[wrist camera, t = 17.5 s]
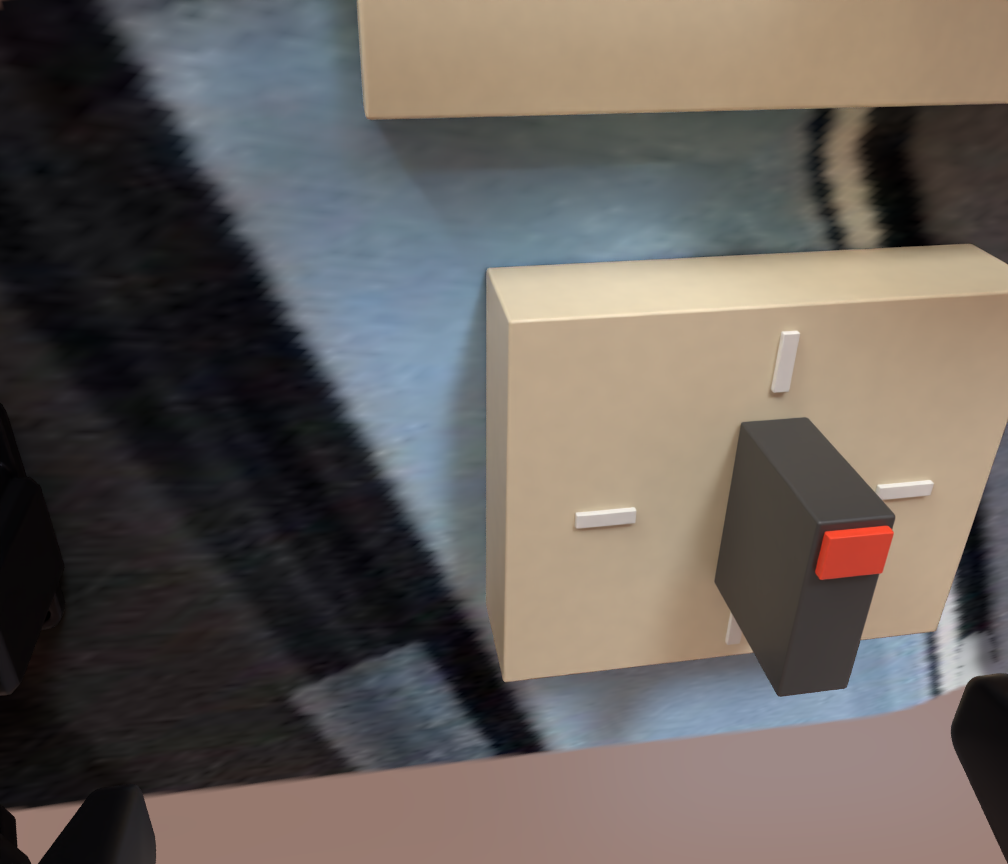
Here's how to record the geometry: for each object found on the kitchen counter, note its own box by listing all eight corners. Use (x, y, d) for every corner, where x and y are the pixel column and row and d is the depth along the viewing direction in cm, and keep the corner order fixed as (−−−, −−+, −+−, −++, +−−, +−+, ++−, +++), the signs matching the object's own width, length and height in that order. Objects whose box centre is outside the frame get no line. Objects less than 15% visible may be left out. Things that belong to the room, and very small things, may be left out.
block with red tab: (774, 575, 23) (853, 698, 19) (713, 582, 23) (782, 707, 19) (807, 415, 20) (905, 522, 17) (739, 420, 20) (824, 530, 17)
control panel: (485, 604, 26) (504, 688, 23) (486, 267, 21) (510, 324, 18) (880, 562, 28) (940, 636, 25) (971, 242, 22) (1058, 291, 20)
